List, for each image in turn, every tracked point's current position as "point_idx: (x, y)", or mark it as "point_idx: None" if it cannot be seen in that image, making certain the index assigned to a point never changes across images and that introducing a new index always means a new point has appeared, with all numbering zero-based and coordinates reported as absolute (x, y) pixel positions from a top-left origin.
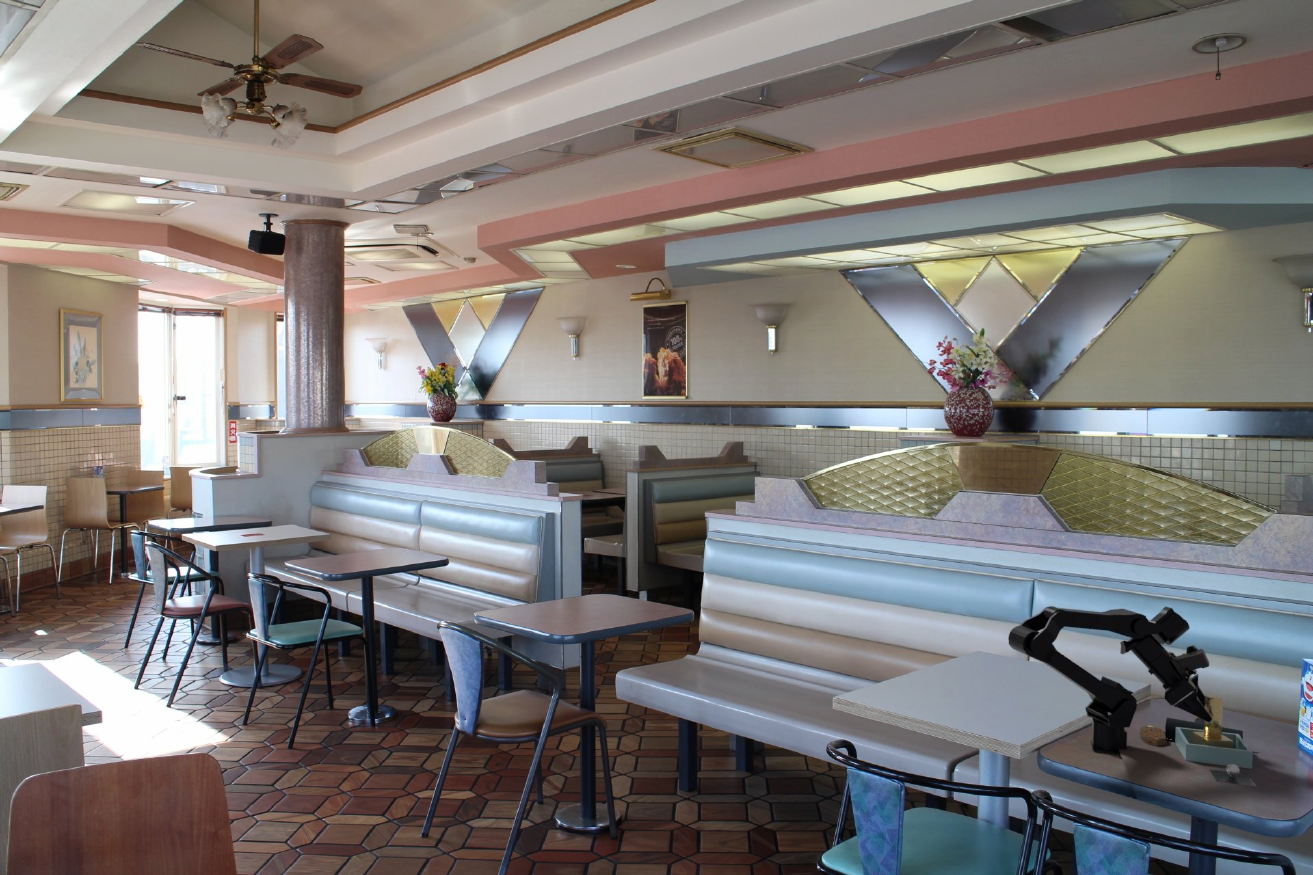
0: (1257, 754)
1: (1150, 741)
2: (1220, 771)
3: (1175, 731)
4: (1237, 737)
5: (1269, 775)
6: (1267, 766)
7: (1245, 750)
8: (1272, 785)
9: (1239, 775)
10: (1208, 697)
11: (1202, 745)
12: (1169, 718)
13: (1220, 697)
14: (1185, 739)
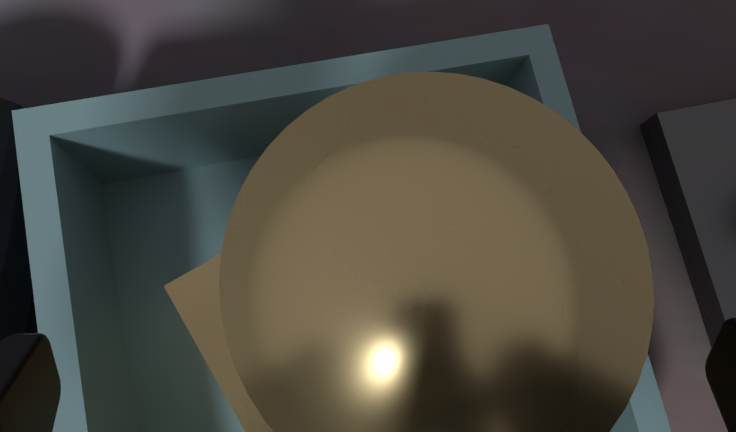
0: (6, 47)
1: None
2: (724, 276)
3: None
4: (133, 123)
5: (469, 6)
6: (275, 5)
7: (540, 73)
8: (659, 4)
9: (717, 162)
10: (521, 407)
11: (646, 415)
12: None
13: (308, 123)
14: None
